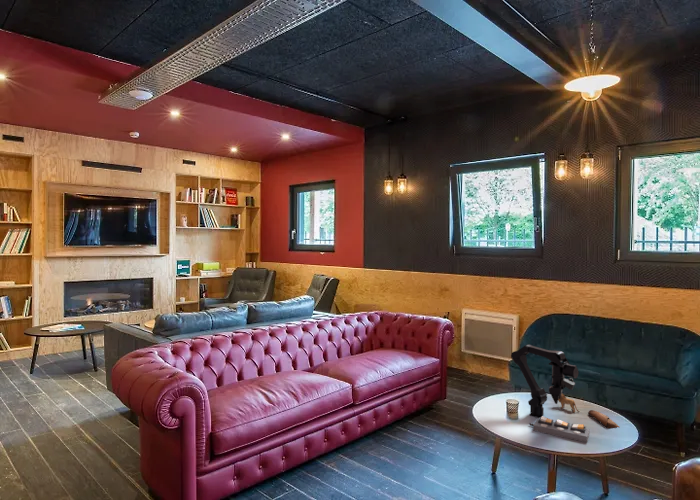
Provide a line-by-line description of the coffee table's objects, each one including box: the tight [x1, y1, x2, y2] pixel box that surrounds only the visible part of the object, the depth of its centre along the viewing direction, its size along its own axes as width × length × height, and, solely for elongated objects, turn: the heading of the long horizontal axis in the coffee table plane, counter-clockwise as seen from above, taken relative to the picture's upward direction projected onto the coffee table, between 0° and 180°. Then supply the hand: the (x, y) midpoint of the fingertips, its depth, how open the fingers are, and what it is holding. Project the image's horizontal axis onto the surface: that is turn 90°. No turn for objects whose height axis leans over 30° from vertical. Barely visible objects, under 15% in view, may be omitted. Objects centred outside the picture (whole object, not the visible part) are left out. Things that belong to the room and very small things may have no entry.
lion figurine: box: [558, 393, 580, 413], centre depth 273 cm, size 15×5×9 cm, turn 38°
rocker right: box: [572, 423, 585, 429], centre depth 238 cm, size 5×4×1 cm
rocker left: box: [539, 415, 553, 423], centre depth 247 cm, size 5×4×1 cm
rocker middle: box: [556, 419, 569, 426], centre depth 243 cm, size 5×4×1 cm
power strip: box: [529, 417, 590, 443], centre depth 242 cm, size 29×10×4 cm, turn 56°
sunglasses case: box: [587, 409, 620, 429], centre depth 256 cm, size 18×7×7 cm
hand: (557, 401), depth 255 cm, fingers open, 9 cm apart
